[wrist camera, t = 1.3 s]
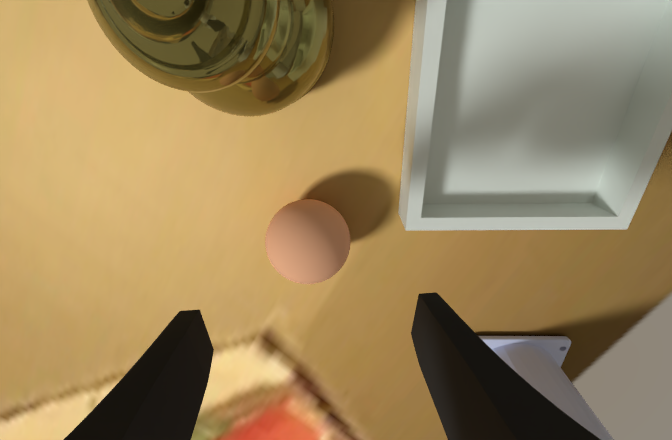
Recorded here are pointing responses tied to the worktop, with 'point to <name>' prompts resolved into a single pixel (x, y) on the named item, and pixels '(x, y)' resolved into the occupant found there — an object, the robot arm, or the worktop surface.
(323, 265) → the ball
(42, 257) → the worktop surface
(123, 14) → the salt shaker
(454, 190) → the tray
